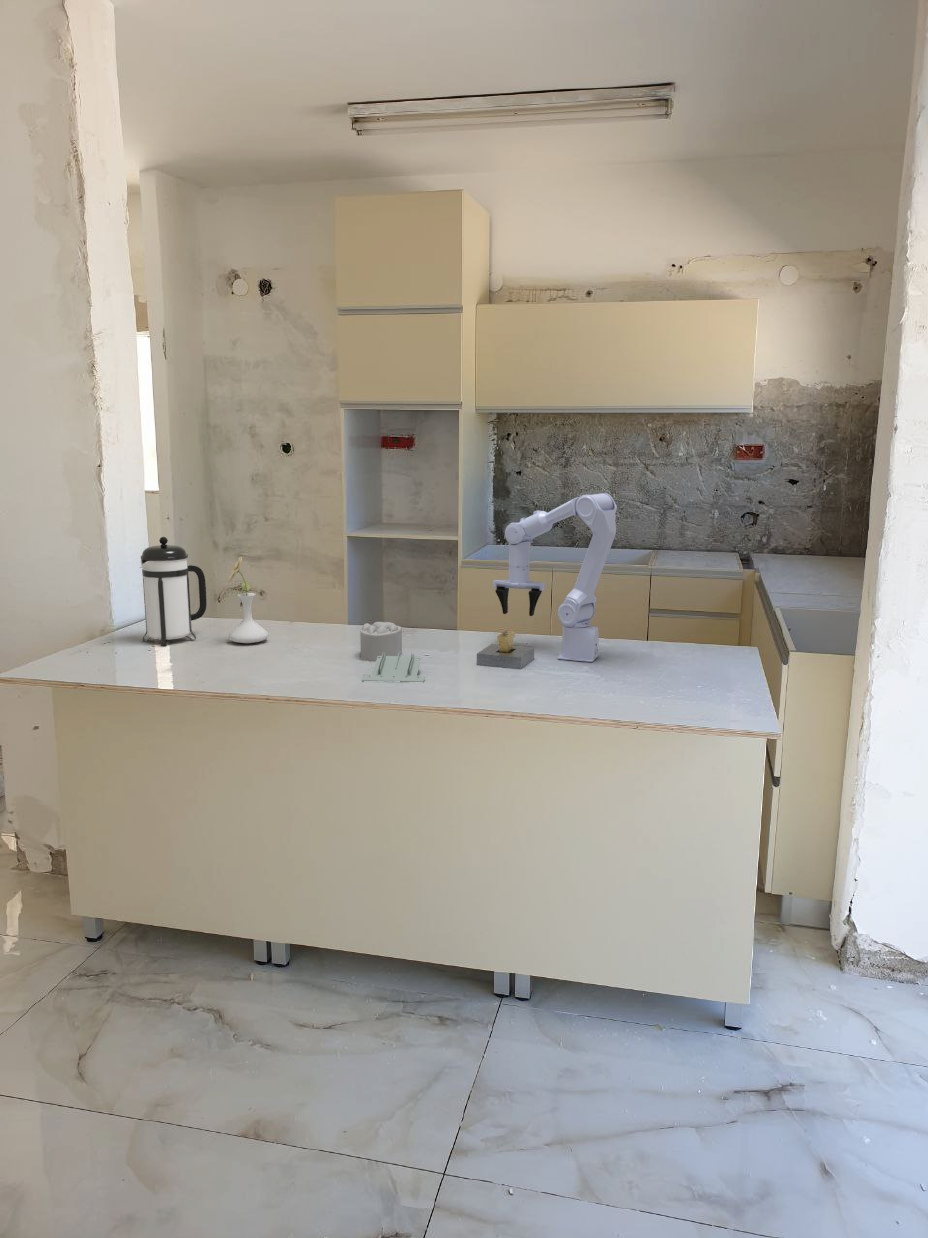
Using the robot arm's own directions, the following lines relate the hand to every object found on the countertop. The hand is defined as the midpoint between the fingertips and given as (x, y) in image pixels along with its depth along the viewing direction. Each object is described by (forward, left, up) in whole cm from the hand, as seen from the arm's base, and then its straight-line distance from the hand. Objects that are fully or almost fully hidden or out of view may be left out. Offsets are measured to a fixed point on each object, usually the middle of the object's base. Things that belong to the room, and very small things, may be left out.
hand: (518, 614), depth 258 cm
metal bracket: (+19, +40, -10) cm, 46 cm away
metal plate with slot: (-2, +17, -9) cm, 20 cm away
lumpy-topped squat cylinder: (+32, +23, -10) cm, 40 cm away
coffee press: (+96, +27, -10) cm, 100 cm away
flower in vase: (+74, +22, -10) cm, 78 cm away
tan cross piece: (-2, +17, -9) cm, 19 cm away
